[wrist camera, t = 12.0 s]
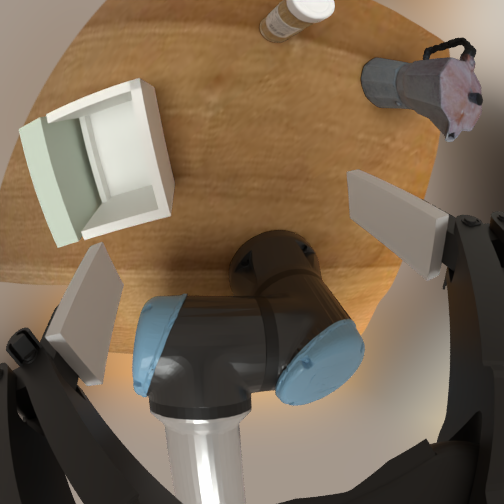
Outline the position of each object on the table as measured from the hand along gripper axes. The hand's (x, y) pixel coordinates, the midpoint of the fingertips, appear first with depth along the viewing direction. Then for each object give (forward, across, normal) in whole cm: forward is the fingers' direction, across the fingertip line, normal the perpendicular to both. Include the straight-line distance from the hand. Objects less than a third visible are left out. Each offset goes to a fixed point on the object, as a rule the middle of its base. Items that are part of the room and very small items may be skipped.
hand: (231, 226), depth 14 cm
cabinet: (+26, +12, -4) cm, 29 cm away
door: (+26, +17, -5) cm, 31 cm away
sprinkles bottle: (+26, -13, -16) cm, 33 cm away
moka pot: (+26, -30, -7) cm, 40 cm away
